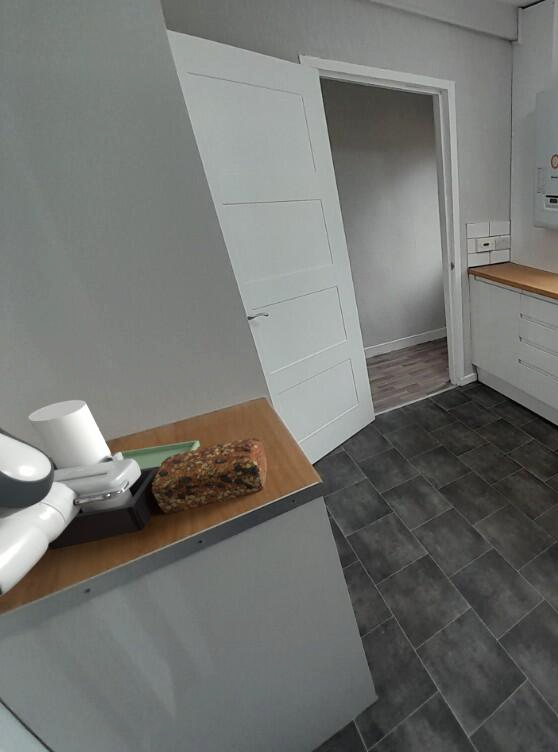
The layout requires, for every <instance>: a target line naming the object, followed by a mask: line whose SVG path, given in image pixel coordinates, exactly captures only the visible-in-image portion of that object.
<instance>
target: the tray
mask: <svg viewBox="0 0 558 752" xmlns="http://www.w3.org/2000/svg"><path fill="white" fill-rule="evenodd" d="M200 446H201V444H200V441H199V440H198V439H197V440H196V439H195V440H190V441H184V442H183V441H182V442H177V443H170V444H163V445H156V446H149V447H144V448H137V449H130V450H122V451H120V452H121V453H122V456H123V460H125V459H134V460H135V461H136V462H137V464H138V465H139V468H140V469H146V468H152V467H158V466H161V463H162V462H163V461H164V460H165V459H166V458H168V457H170V456H173V455H176V454H180V453H184V452H189V451H192V450H197V449H199V448H200ZM117 452H118V451H117ZM117 452H115V453H117Z"/></svg>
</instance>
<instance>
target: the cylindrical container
mask: <svg viewBox="0 0 558 752" xmlns="http://www.w3.org/2000/svg"><path fill="white" fill-rule="evenodd" d="M27 418H28V420H29V422H30V424H31V425H32V427H33V429H34V430H35V433H37V435H38V438H39V440H40V441H41V442H42V444H43V446H44V448H45V449H46V451H47V452H48V454H49V456H50V459H51V461H52V462H54V463H55V465H56V467H57V468H58V470H60V469H66V468H73V467H79V466H86V465H92V464H99V463H105V462H109V461H108V460H107V457H108V456H109V454H111V450H110V448H109V446H108V444H107V442H106V440H105V438H104V436H103V434H102V432H101V431H100V428H99V426H98V424H97V422H96V421H95V418H94V416H93V414H92V413H91V411H90V409H89V406H88V405H87V403H86V401H85V400H82V399H71V400H64V401H60V402H55V403H52V404H49V405H46V406H44V407H40V408H39V409H37V410H34V411H33V412H31V413H30V414H29V416H28V417H27ZM133 497H134V496H132V494H131V492H130V490H129V489H128V490H126V491H125V492H124V493H123V494H121V495H120V496H118V497H116V498H113V499H110V500H105V501H99V502H94V503H88V504H82V505H81V507H80V508H81V510H82V511H83V513H85V512H90V511H96V510H101V509H106V508H112V507H117V506H123V505H128V504H129V503H130V501H131V500H132V499H133Z"/></svg>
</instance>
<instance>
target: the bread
mask: <svg viewBox="0 0 558 752" xmlns="http://www.w3.org/2000/svg"><path fill="white" fill-rule="evenodd" d="M267 476H268V461H267V455H266V451H265V447H264V444H263V442H261V440H260V438H253V437H251V438H250V437H249V438H243V439H238V440H233V441H228V442H224V443H218V444H215V445H212V446H205V447H203V448H197V450H192V451H189V452H184V453H180V454H176V455H173V456H170V457H168V458H166V459H165V460H164V461H163V462H162V463H161V466H160V468H159V469H157V470H156V472H155V477H154V478H155V479H154V482H153V483H152V484H153V488H152V493H153V495H154V497H155V499H156V500H157V502H158V507H159V508H160V510H161V511H162V512H163V513H164V514H165V515H171V514H175V513H178V512H183V511H188V510H191V509H194V508H200V507H204V506H208V505H212V504H216V503H219V502H224V501H227V500H229V499H236V498H240V497H243V496H247V495H251V494H254V493H256V492H261V491H262V490H264V489H265V486H266V481H267Z"/></svg>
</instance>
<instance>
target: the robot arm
mask: <svg viewBox="0 0 558 752" xmlns="http://www.w3.org/2000/svg"><path fill="white" fill-rule="evenodd" d="M121 452H122V451H117V453H116V452H112V453H111V454H109V456H108V457H107V460H108V461H109V462H105V463H99V464H92V465H86V466H79V467H73V468H66V469H60V470H58V468H57V467H56V465H55V463H54V461H53V460H52V458H51V457H49V455H48V454H47V453H46V452H44V451H43V450H42V449H40V448H39V447H37V446H35V445H33V444H32V443H29V442H27V441H25V440H23V439H21V438H20V437H17V436H16V435H14V434H12V433H10V432H9V431H7V430H5V429H3V428H2V427H0V597H2V596H4V595H5V594H6V593H8V592H9V591H10V590H12V589H13V587H15V586H16V585H17V584H18V583H19V582H20V581H21V580H22V579H23V578H24V577H25V576H26V575H27V574H28V573H29V572H30V571H31V570H32V569H33V567H34V566H35V565H36V564H37V563H38V562H39V561H40V560H41V558H42V557H43V556H44V555H45V553H46V552H47V550H48V548H49V546H48V544H49V543H50V542H52V541H53V540H55V539H56V538H57V537H58V536H59V535H60V534H61V533H62V532H63V530H64V529H65V528H66V527H67V526H68V524H69V523H70V522H71V521H72V520H73V518H74V517H75V516H76V515H77V513H78V512H79V510H80V507H81V505H82V504H88V503H94V502H99V501H105V500H110V499H113V498H116V497H118V496H120V495H121V494H123V493H124V492H125V491H126V490H128V489H129V488H130V487H131V486H132V485H133V484H134V482H135V481H136V480H137V479H138V478H139V477H140V475H141V471H140V468H139V465H138V464H137V462H136V461H135V460H134V459H125V460H123V456H122V453H121Z"/></svg>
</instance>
